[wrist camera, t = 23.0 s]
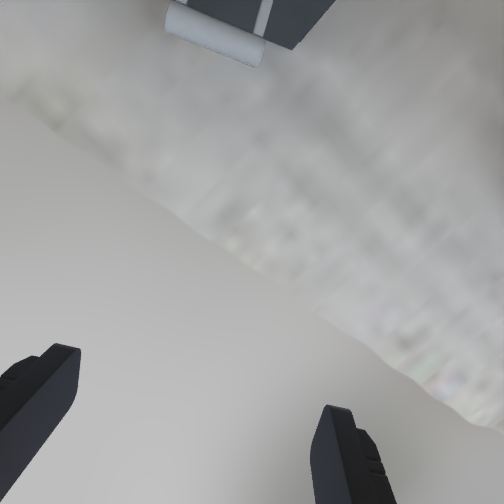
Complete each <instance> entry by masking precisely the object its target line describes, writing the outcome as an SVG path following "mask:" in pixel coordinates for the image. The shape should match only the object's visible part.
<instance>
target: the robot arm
mask: <svg viewBox="0 0 504 504" xmlns="http://www.w3.org/2000/svg"><path fill="white" fill-rule="evenodd" d="M80 360H81V350H80V349H79V348H75V347H71V346H66V345H62V344H57V343H55V344H53V345H52V346H51V347H50V348H49V349H48V350H47V351H46V352H44V353H43V354H42V355H41V356H40V357H37V356H30V357H28V358H26V359H23V360H21V361H19V362H17V363H15V364H13V365H12V366H11V367H10V368H9V369H8V370H7V371H5V372H4V373H3V374H2V375H1V377H0V502H1V500H2V499H3V498H4V496H5V495H6V493H7V492H8V491H9V490H10V488H11V487H12V485H13V484H14V483H15V481H16V480H17V479H18V477H19V476H20V475H21V473H22V472H23V471H24V469H25V468H26V467H27V465H28V464H29V463H30V461H31V460H32V458H33V457H34V456H35V455H36V453H37V452H38V450H39V449H40V448H41V447H42V445H43V444H44V443H45V441H46V440H47V438H48V437H49V436H50V434H51V433H52V432H53V430H54V429H55V428H56V426H57V425H58V424H59V422H60V421H61V420H62V418H63V417H64V416H65V414H66V413H67V412H68V410H69V409H70V407H71V405H72V403H73V401H74V399H75V396H76V393H77V388H78V379H79V370H80ZM310 465H311V472H312V480H313V488H314V495H315V503H316V504H397V503H396V501H395V497H394V495H393V492H392V489H391V486H390V483H389V481H388V478H387V476H386V475H385V469H384V467H383V464H382V463H381V458H380V455H379V452H378V450H377V447H376V444H375V443H374V442H373V440H372V439H371V438H370V436H369V435H368V434H367V432H366V431H365V430H362V429H358V428H356V425H355V422H354V419H353V415H352V412H351V411H350V410H349V409H345V408H341V407H336V406H332V405H326V406H325V407H324V410H323V412H322V415H321V418H320V421H319V424H318V426H317V429H316V432H315V435H314V438H313V441H312V445H311V451H310Z"/></svg>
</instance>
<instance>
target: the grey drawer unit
mask: <svg viewBox="0 0 504 504" xmlns="http://www.w3.org/2000/svg"><path fill="white" fill-rule="evenodd" d="M175 1H176V2H175ZM333 1H334V0H171V1H170V3H169V6H168V10H167V14H166V19H165V32H167V33H169V34H172V35H174V36H177V37H179V38H182V39H184V40H187V41H189V42H192V43H194V44H197V45H199V46H202V47H204V48H207V49H210V50H212V51H215V52H217V53H220V54H222V55H225V56H227V57H230V58H232V59H235V60H237V61H240V62H242V63H245V64H247V65H250V66H252V67H255V68H257V66H258V64H259V62H260V59H261V57H262V54H263V50H264V47H265V39H266V40H269V41H271V42H273V43H276V44H278V45H281V46H283V47H285V48H288V49H290V50H293V48H294V47H295V46H296V45H297V44H298V43H299V41H300V40H301V39H302V38H303V37H304V35H305V34H306V33H307V32H308V31H309V30H310V28H311V27H312V26H313V25H314V24H315V22H316V21H317V20H318V19H319V18H320V17H321V15H322V14H323V13H324V12H325V11H326V9H327V8H328V7H329V6H330V5H331V4H332V2H333ZM187 6H188V7H187ZM192 8H193V9H192ZM199 11H200V12H199ZM206 14H207V15H206ZM211 16H212V17H211ZM218 19H219V20H218ZM225 22H226V23H225ZM230 24H231V25H230ZM237 27H238V28H237ZM249 32H250V33H249Z"/></svg>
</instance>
